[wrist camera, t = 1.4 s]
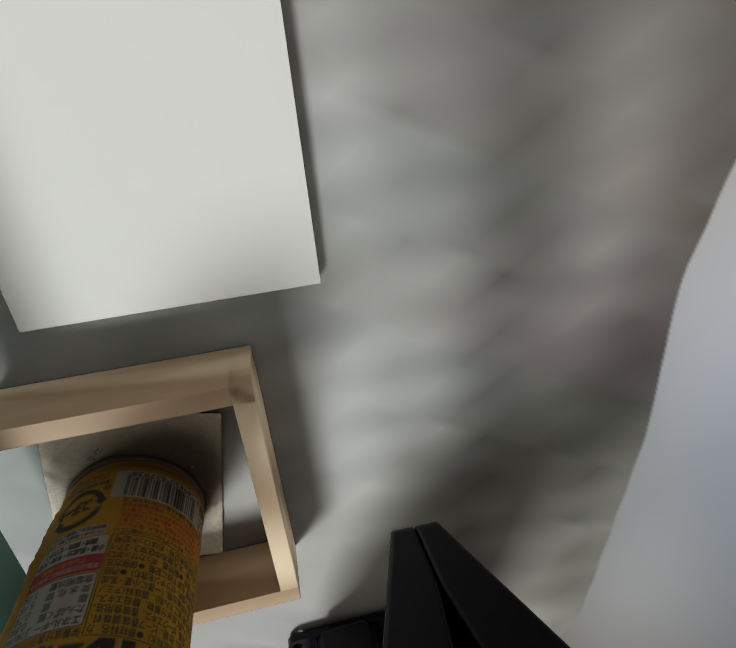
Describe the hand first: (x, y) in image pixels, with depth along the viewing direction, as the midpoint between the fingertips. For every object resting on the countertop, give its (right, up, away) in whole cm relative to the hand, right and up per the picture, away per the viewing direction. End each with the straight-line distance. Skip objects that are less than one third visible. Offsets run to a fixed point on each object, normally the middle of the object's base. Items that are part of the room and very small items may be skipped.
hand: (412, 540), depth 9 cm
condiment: (-11, -3, +14) cm, 18 cm away
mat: (-9, +10, +8) cm, 15 cm away
